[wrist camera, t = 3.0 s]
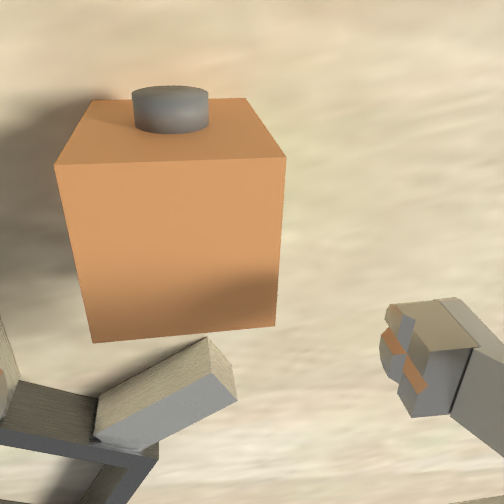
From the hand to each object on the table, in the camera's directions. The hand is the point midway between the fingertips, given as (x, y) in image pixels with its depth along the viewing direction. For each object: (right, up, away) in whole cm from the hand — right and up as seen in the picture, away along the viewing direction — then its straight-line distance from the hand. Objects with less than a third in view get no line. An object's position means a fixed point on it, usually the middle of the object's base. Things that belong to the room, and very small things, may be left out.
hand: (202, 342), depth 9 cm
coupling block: (-2, +5, +7) cm, 8 cm away
